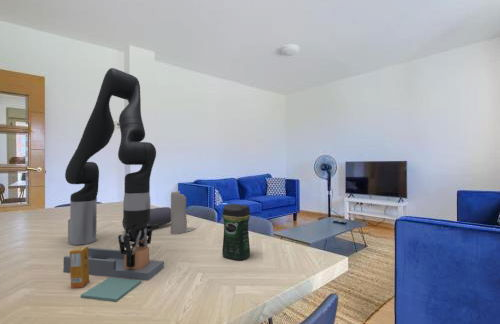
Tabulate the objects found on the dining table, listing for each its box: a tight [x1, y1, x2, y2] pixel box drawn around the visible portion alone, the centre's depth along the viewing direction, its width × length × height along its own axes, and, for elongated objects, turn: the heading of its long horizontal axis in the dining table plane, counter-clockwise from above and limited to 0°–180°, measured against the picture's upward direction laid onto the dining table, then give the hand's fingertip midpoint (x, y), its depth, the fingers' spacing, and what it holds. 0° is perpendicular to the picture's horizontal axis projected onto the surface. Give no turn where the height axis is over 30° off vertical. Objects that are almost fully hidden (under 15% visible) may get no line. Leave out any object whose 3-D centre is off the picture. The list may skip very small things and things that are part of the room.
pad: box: [80, 277, 142, 303], centre depth 68 cm, size 10×10×1 cm
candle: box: [170, 190, 197, 235], centre depth 126 cm, size 7×14×20 cm, turn 148°
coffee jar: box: [221, 203, 251, 261], centre depth 92 cm, size 10×8×19 cm
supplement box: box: [69, 246, 90, 289], centre depth 70 cm, size 3×3×10 cm
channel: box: [63, 247, 165, 281], centre depth 80 cm, size 28×9×4 cm, turn 80°
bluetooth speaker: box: [122, 206, 171, 232], centre depth 128 cm, size 23×9×10 cm, turn 144°
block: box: [124, 246, 150, 270], centre depth 78 cm, size 5×5×5 cm
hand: (136, 263), depth 78 cm, fingers closed on block, 5 cm apart
